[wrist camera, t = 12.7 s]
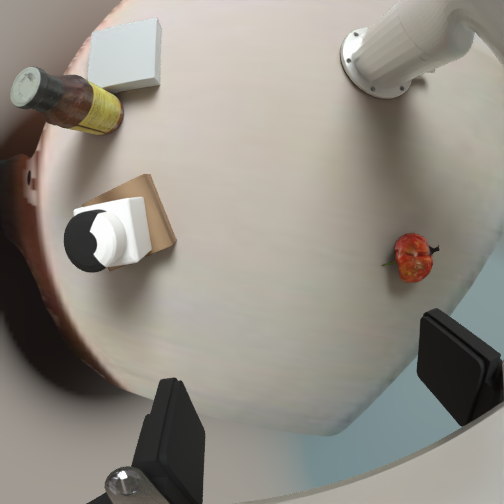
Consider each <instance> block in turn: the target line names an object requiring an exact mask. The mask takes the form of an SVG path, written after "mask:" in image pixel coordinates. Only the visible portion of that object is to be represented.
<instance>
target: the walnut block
mask: <svg viewBox="0 0 504 504" xmlns="http://www.w3.org/2000/svg"><path fill="white" fill-rule="evenodd" d="M133 197H143V198H144V203H145V210H146V217H147V223H148V229H149V236H150V242H151V247H152V250H151V251H150V252H149V253H148V254H147V255H146V256H148V255H150V254H153V253H155V252H158V251H160V250H163V249H165V248H167V247H170V246H172V245H173V244H174V243H175V242H176V237H175V235H174V232H173V230H172V228H171V225H170V223H169V220H168V218H167V215H166V213H165V210H164V208H163V205H162V203H161V200H160V198H159V195H158V193H157V190H156V187H155V185H154V182H153V180H152V177H151V174H143V175H141V176H139V177H137V178H134V179H132V180H130V181H128V182H126V183H124V184H122V185H120V186H118V187H116V188H114V189H112V190H110V191H108V192H106V193H104V194H102V195H100V196H98V197H96V198H94V199H92V200H91V201H89V202H87V203H85V204H83V205H82V207H86V206H91V205H95V204H100V203H105V202H110V201H115V200H120V199H125V198H133ZM122 266H124V265H119V266H112V267H108V269H109V271H112V270H114V269H117V268H119V267H122Z"/></svg>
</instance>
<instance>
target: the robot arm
mask: <svg viewBox="0 0 504 504" xmlns="http://www.w3.org/2000/svg"><path fill="white" fill-rule="evenodd" d="M474 33H477V35H478V36H479V37H480V38H481V39H482V40H483V41H484V43H485V44H487V45H488V47H489V48H490V49H491V50H492V52H493V53H494V54H495V56H496V57H497V58H498V60H499V61H500V63H501V64H502V65H503V67H504V0H400V1H399V2H398V3H396V4H395V5H394V6H393V7H392V8H391V9H390V10H389V11H387V12H386V13H385V14H384V15H383V16H382V17H381V18H380V19H379V20H378V21H377V22H375V23H374V24H373V25H372V26H371V27H370V28H359V29H356V30H354V31H352V32H351V33H350V34H348V35H347V36H346V38H345V39H344V40H343V43H342V45H341V51H340V53H341V61H342V65H343V67H344V69H345V71H346V73H347V75H348V76H349V78H350V79H351V80H352V81H353V82H354V84H355V85H357V86H358V87H359V88H360V89H361V90H363V91H364V92H366V93H367V94H370V95H372V96H374V97H378V98H382V99H390V98H395V97H398V96H400V95H402V94H404V93H405V92H406V91H407V90H408V88H409V86H410V85H411V81H412V79H413V78H415V77H417V76H420V75H422V74H424V73H426V72H427V73H434V72H435V69H436V68H438V67H440V66H443V65H445V64H447V63H450V62H452V61H455V60H457V59H460V58H461V57H463V56H464V55H465V54H466V53H467V52H468V51H469V50H470V48H471V46H472V43H473V39H474ZM346 61H347V62H348V63H347V62H346ZM371 90H372V91H371ZM500 356H501V354H500V353H498V352H497V351H495V350H494V349H493V348H492V347H490V346H489V345H487V344H486V343H485V342H484V341H482V340H481V339H480V338H478V337H477V336H476V335H474V334H473V333H472V332H470V331H469V330H467V329H466V328H465V327H463V326H462V325H461V324H459V323H458V322H456V321H455V320H454V319H452V318H451V317H449V316H448V315H447V314H445V313H444V312H442V311H441V310H439V309H437V308H435V309H433V310H430V311H428V312H425V313H424V315H423V317H422V318H421V320H420V337H419V351H418V362H417V374H418V377H419V378H420V380H421V381H422V382H423V383H424V384H425V385H426V386H427V388H428V389H429V390H430V391H431V392H432V393H433V394H434V396H435V397H436V398H437V399H438V400H439V401H440V403H441V404H442V405H443V406H444V407H445V408H446V410H447V411H448V412H449V413H450V414H451V415H452V417H453V418H454V419H455V420H456V422H457V423H458V424H459V425H460V426H464V427H462V428H460V429H458V430H457V431H455V432H453V433H451V434H450V435H448V436H446V437H444V438H442V439H441V440H439V441H437V442H435V443H433V444H431V445H429V446H427V447H425V448H423V449H421V450H419V451H416V452H414V453H412V454H410V455H408V456H405V457H403V458H401V459H399V460H396V461H394V462H392V463H389V464H387V465H384V466H382V467H379V468H376V469H374V470H371V471H369V472H366V473H363V474H360V475H357V476H354V477H351V478H348V479H345V480H342V481H339V482H336V483H332V484H328V485H325V486H321V487H318V488H314V489H310V490H307V491H302V492H298V493H293V494H289V495H284V496H279V497H273V498H268V499H262V500H256V501H250V502H243V503H235V504H504V360H503V361H502V360H501V359H500ZM204 452H205V431H204V428H203V426H202V424H201V421H200V419H199V417H198V415H197V413H196V411H195V408H194V406H193V404H192V402H191V400H190V397H189V395H188V393H187V391H186V388H185V386H184V384H183V382H182V381H178V380H177V379H176V378H167V379H161V380H160V382H159V385H158V389H157V392H156V395H155V399H154V402H153V406H152V410H151V413H150V414H147V415H146V417H145V419H144V422H143V426H142V429H141V433H140V436H139V440H138V444H137V447H136V451H135V454H134V458H133V462H132V465H131V467H130V466H126V467H120V468H118V469H116V470H114V471H113V472H111V473H110V474H109V476H108V477H107V479H106V481H105V490H106V493H104V494H102V495H101V496H99V497H97V498H96V499H94V500H92V501H91V502H89V503H87V504H202V501H203V499H202V498H203V475H204V473H203V472H204Z"/></svg>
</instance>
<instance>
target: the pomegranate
mask: <svg viewBox="0 0 504 504" xmlns="http://www.w3.org/2000/svg"><path fill="white" fill-rule="evenodd" d="M394 250H395V253H396V257H395V258H396V261H393V262H391V263H387V264H384V265H390V264H393V263H397V264H398V268H399V276H400V278H401V279H402V280H403V281H404V282H407V283H410V282H419V281H421V280H422V279H424V278H425V277H426V276H427V275H428V274H429V273H430V271H431V269H432V266H433V259H432V254H433V253H434V252H436V251H439V245H438V247H436V248H432V247H430V246H429V245H428V243H427V241H426V239H425V238H424V237H423V236H420V235H418V234H415V233H410V234H405V235H403V236H401V237H400V238H399V239H398V240H397V241H396V244H395V248H394ZM384 265H382V266H384Z"/></svg>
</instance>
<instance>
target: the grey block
mask: <svg viewBox="0 0 504 504" xmlns="http://www.w3.org/2000/svg"><path fill="white" fill-rule="evenodd" d="M161 36H162V28H161V25H160V23H159V21H158V19H157V18H152V19H147V20H142V21H137V22H132V23H127V24H123V25H119V26H114V27H111V28H107V29H103V30H99V31H96V32H92V38H91V45H90V54H89V64H88V76H87V80H88V81H90V82H92V83H94V84H95V85H97V86H99V87H101V88H102V89H104V90H106V91H108V92H109V93H111V94H112V93H117V92H122V91H127V90H133V89H138V88H144V87H151V86H157V85H160V65H161Z"/></svg>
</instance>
